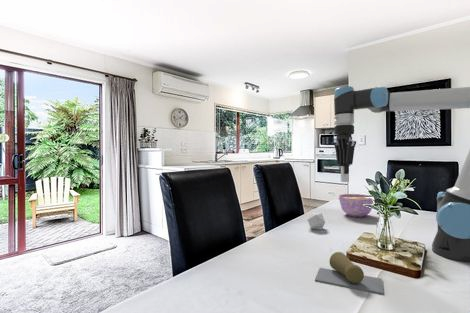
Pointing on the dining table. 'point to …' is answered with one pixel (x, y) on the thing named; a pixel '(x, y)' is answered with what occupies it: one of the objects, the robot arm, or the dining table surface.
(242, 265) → the dining table surface
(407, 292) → the dining table surface
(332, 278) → the mat
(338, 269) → the olive waisted cylinder
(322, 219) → the die
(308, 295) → the dining table surface
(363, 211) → the purple ceramic bowl
